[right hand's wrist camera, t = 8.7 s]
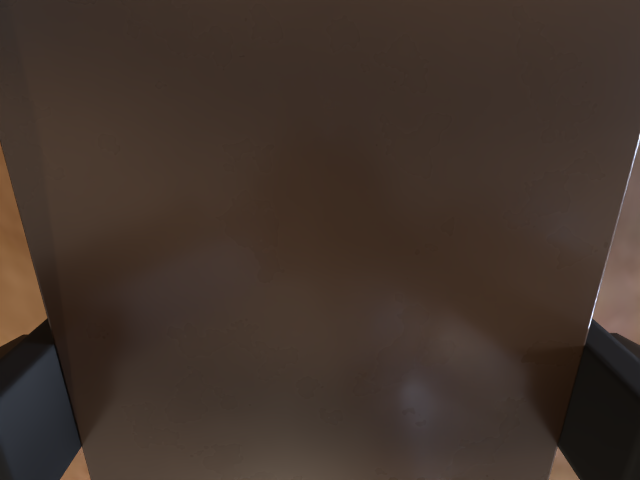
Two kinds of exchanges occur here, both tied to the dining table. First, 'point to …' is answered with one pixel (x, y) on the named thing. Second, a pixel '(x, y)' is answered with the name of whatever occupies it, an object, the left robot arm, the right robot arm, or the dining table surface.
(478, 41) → the cabinet
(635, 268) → the dining table surface
